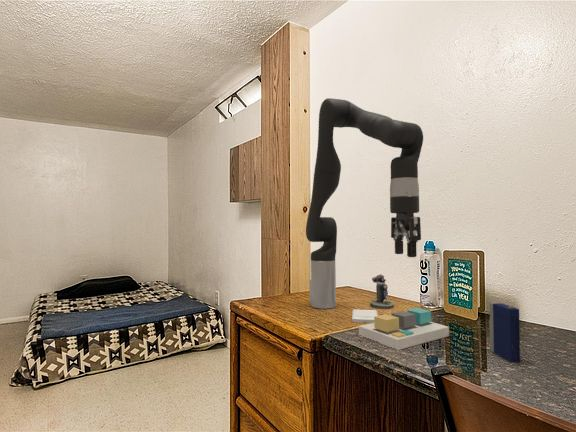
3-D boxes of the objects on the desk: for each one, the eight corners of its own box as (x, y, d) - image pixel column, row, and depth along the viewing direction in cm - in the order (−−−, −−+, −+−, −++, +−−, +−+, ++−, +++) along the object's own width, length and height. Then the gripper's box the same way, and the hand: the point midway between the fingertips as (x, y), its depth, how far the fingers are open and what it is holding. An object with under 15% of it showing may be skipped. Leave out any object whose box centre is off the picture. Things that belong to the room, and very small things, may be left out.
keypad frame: (358, 335, 100) (358, 324, 100) (408, 323, 111) (407, 314, 111) (398, 350, 88) (397, 337, 88) (449, 336, 99) (448, 325, 99)
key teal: (407, 320, 104) (407, 309, 104) (417, 318, 106) (417, 307, 106) (420, 324, 100) (420, 313, 100) (431, 321, 102) (430, 311, 102)
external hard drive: (376, 314, 124) (378, 324, 112) (352, 313, 126) (351, 323, 114) (376, 310, 124) (378, 319, 112) (352, 309, 126) (351, 318, 114)
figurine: (371, 308, 130) (371, 275, 131) (369, 303, 139) (368, 272, 139) (395, 309, 130) (395, 275, 130) (391, 303, 138) (391, 272, 138)
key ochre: (374, 327, 97) (374, 316, 97) (386, 325, 99) (386, 314, 99) (387, 331, 93) (386, 320, 93) (399, 329, 96) (398, 317, 96)
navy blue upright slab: (520, 362, 80) (519, 307, 80) (510, 362, 80) (509, 308, 80) (498, 350, 88) (497, 300, 88) (489, 350, 87) (488, 301, 88)
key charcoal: (391, 323, 100) (391, 313, 100) (402, 321, 103) (402, 310, 103) (404, 327, 97) (404, 316, 97) (415, 325, 99) (415, 314, 99)
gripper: (381, 197, 105) (382, 253, 105) (401, 193, 91) (402, 258, 90) (407, 197, 105) (407, 253, 105) (430, 193, 91) (431, 258, 91)
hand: (405, 255), depth 98 cm, fingers open, 8 cm apart
